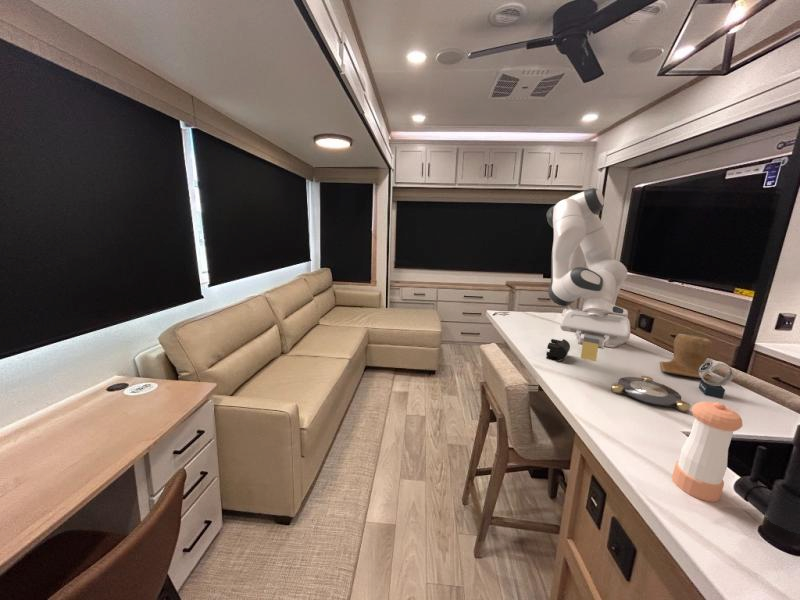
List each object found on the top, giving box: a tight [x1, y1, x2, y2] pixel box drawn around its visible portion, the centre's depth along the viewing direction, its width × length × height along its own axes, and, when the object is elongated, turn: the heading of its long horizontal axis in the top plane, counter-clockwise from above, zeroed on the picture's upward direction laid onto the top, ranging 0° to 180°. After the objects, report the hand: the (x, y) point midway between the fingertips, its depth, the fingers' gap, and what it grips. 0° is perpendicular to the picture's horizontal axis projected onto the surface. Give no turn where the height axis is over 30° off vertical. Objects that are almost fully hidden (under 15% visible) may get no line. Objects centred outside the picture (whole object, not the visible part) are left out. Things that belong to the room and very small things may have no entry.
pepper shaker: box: [671, 401, 743, 503], centre depth 62 cm, size 7×7×19 cm
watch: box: [698, 360, 735, 399], centre depth 101 cm, size 6×8×11 cm
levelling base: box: [610, 375, 691, 413], centre depth 98 cm, size 19×19×2 cm
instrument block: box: [580, 333, 600, 362], centre depth 104 cm, size 4×4×8 cm
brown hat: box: [659, 333, 713, 380], centre depth 115 cm, size 15×12×15 cm
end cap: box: [545, 338, 571, 362], centre depth 127 cm, size 10×7×7 cm
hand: (590, 345), depth 104 cm, fingers closed on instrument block, 4 cm apart
